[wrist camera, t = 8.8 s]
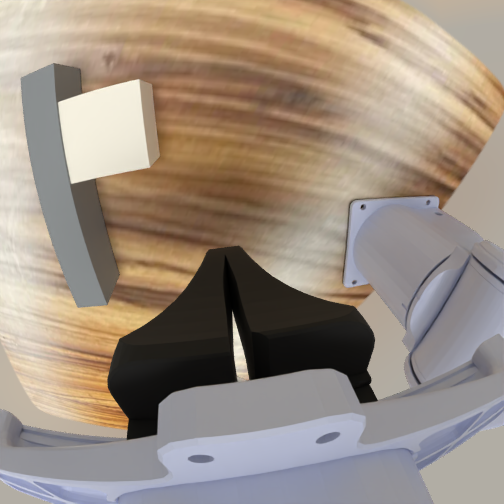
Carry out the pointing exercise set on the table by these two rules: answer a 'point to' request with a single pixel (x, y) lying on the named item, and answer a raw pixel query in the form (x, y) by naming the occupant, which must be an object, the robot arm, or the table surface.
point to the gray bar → (66, 189)
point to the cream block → (109, 131)
